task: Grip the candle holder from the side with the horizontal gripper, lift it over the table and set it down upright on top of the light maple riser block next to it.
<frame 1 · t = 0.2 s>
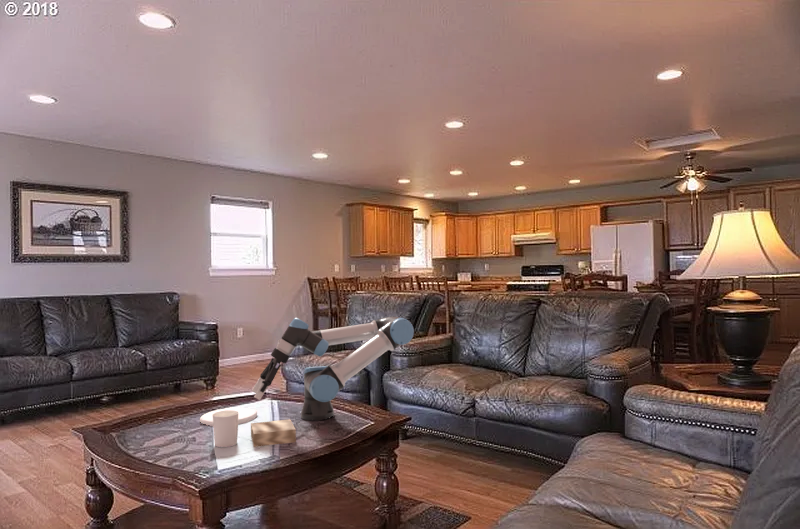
hand: (255, 395, 231), 15 cm above the table, tool tilted 35°, fingers open, 13 cm apart
maple riser: (272, 438, 220), on the table
decorative plate: (228, 419, 253), on the table
candle holder: (226, 444, 214), on the table
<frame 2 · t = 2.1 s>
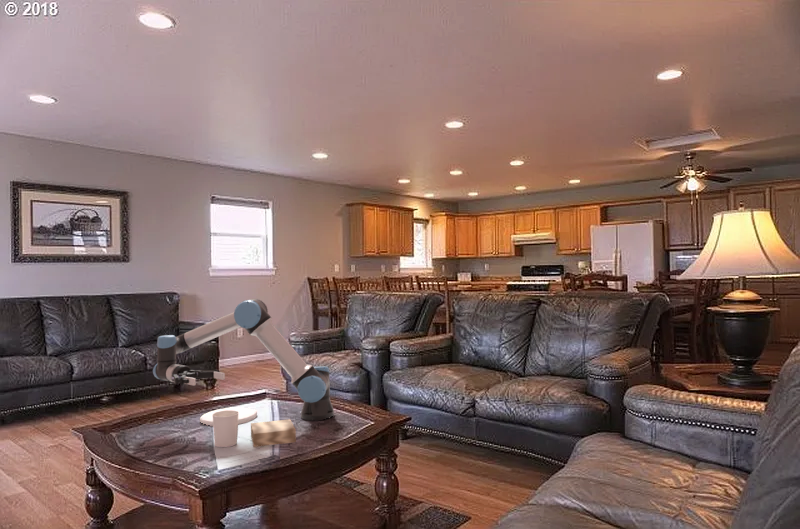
hand: (209, 379, 220), 24 cm above the table, tool horizontal, fingers open, 13 cm apart
nothing on the table moved.
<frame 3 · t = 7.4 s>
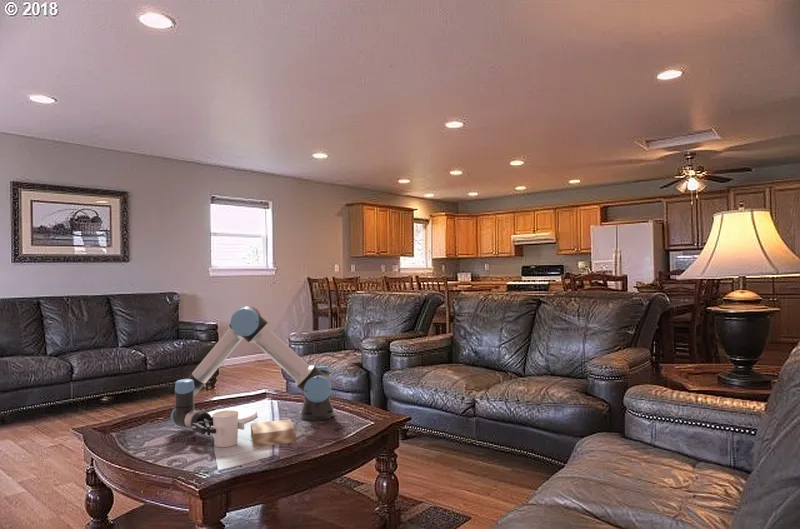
hand: (233, 429, 212), 7 cm above the table, tool horizontal, fingers closed on candle holder, 9 cm apart
candle holder: (226, 444, 214), on the table, touching gripper
everything else where it was.
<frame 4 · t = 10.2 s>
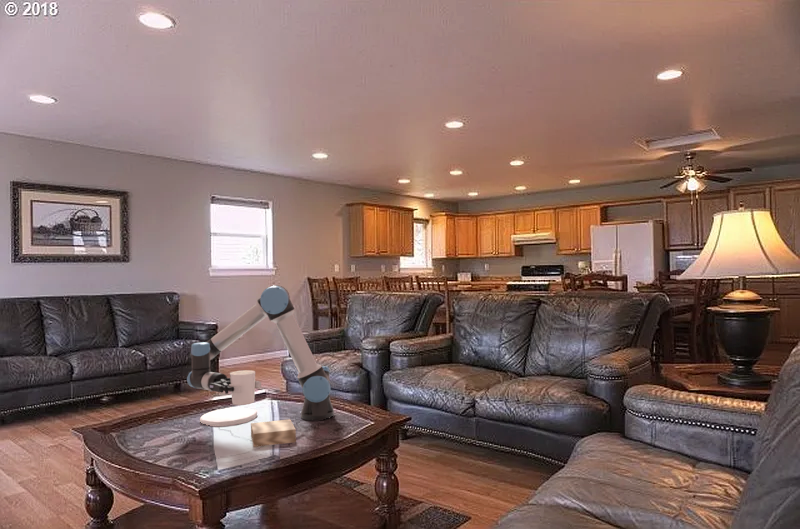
hand: (250, 387, 214), 22 cm above the table, tool horizontal, fingers closed on candle holder, 9 cm apart
candle holder: (243, 403, 217), point 15 cm above the table, touching gripper
everything else where it was.
when the fingers open (13 cm above the table, at t = 13.4 s): candle holder drops 1 cm, resting on maple riser.
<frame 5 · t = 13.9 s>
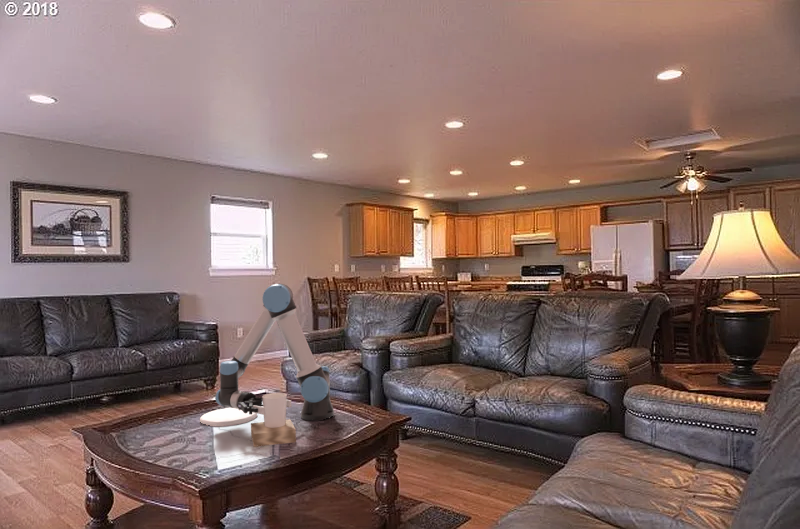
hand: (278, 407, 218), 13 cm above the table, tool horizontal, fingers open, 13 cm apart
candle holder: (275, 425, 222), point 5 cm above the table, touching maple riser
everything else where it was.
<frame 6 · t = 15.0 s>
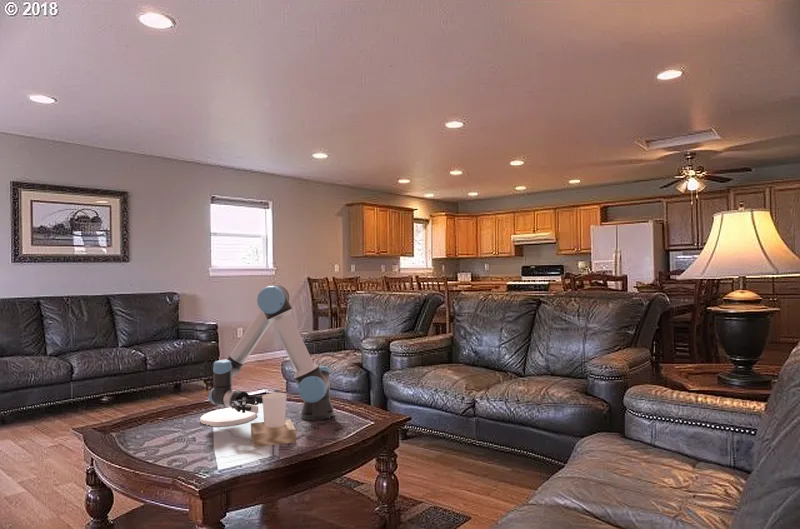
hand: (270, 405, 220), 13 cm above the table, tool horizontal, fingers open, 13 cm apart
candle holder: (275, 425, 222), point 5 cm above the table, touching gripper, maple riser
everything else where it was.
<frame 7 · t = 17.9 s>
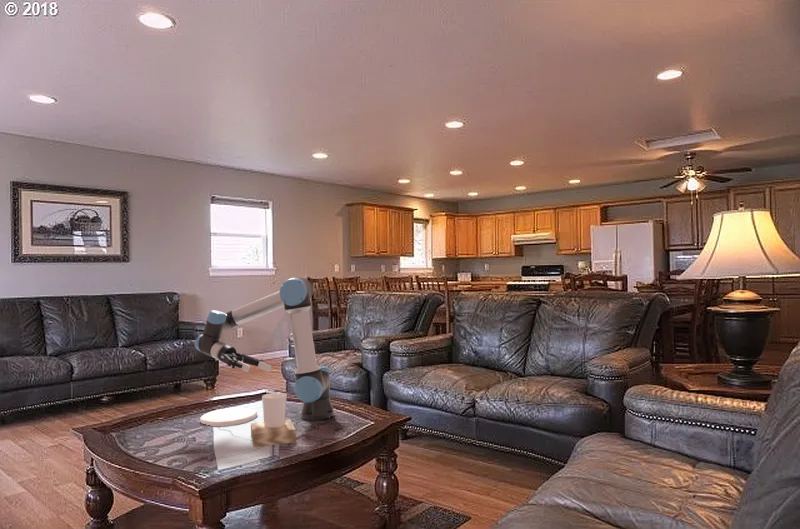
hand: (259, 369, 229), 27 cm above the table, tool tilted 75°, fingers open, 13 cm apart
candle holder: (274, 425, 222), point 5 cm above the table, touching maple riser
everything else where it was.
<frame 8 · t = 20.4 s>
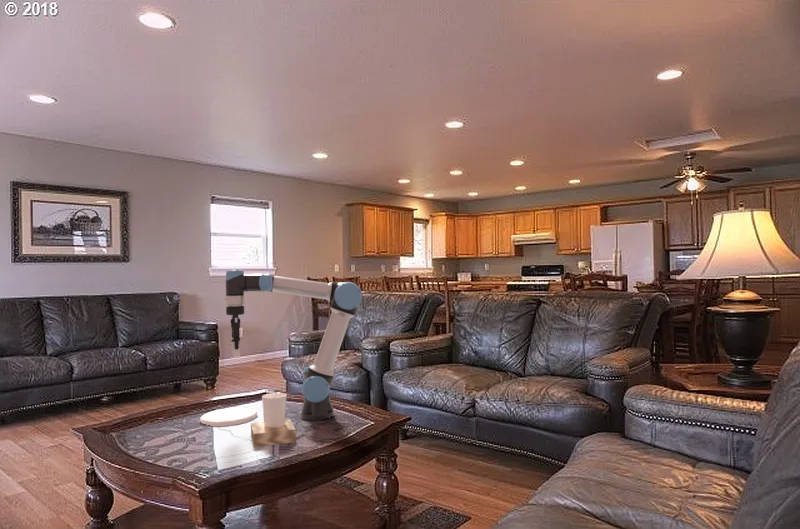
hand: (235, 354, 236), 32 cm above the table, tool pointing down, fingers open, 13 cm apart
nothing on the table moved.
at the end: candle holder inside the target area on the maple riser (1.7 cm from its centre), point 4.8 cm above the maple riser's base; candle holder tilted 0°; the gripper is holding nothing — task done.
